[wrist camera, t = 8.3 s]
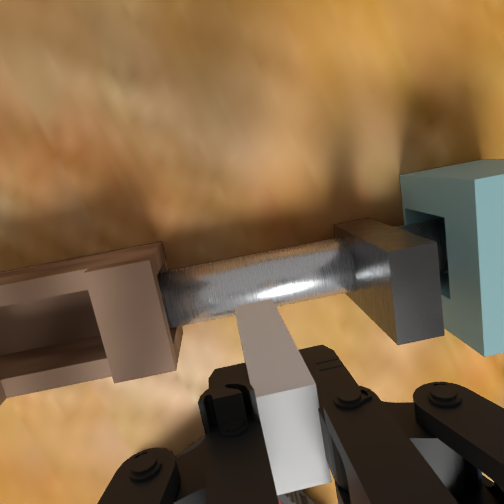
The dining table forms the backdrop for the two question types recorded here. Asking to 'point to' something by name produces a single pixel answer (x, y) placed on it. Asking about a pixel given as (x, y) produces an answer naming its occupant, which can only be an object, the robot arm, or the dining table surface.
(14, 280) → the sleeve
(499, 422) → the robot arm
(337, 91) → the dining table surface
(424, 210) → the socket
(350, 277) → the rod
